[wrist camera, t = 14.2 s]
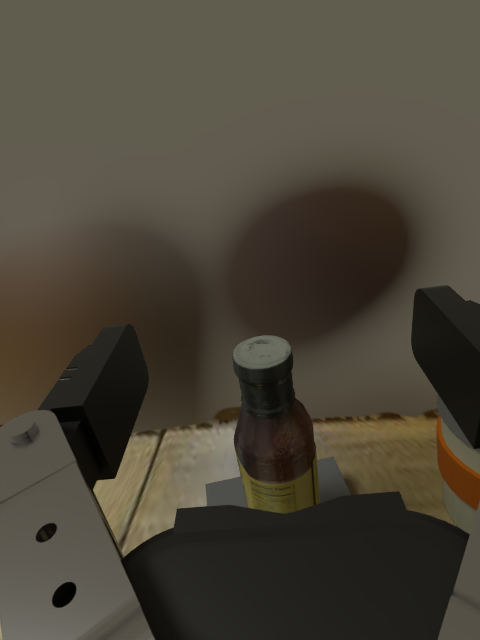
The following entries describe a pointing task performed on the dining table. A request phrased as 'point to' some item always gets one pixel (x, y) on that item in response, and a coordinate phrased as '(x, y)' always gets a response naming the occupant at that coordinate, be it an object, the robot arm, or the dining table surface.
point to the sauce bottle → (273, 430)
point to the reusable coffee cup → (457, 469)
